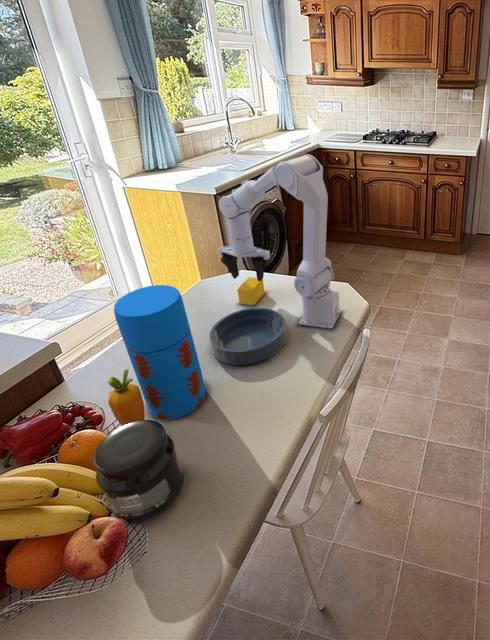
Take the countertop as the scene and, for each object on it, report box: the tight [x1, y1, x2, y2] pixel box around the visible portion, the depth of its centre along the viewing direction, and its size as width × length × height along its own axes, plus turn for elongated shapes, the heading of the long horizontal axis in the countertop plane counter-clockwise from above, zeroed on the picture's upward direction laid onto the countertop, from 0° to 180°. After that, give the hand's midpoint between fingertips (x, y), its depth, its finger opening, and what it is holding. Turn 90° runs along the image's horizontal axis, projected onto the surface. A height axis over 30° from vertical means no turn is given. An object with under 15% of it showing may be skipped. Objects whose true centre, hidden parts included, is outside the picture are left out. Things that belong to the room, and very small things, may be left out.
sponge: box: [236, 276, 266, 306], centre depth 119 cm, size 4×7×5 cm, turn 171°
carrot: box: [107, 368, 146, 426], centre depth 74 cm, size 5×5×15 cm
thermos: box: [113, 284, 206, 421], centre depth 79 cm, size 11×11×25 cm
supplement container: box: [92, 419, 184, 523], centre depth 65 cm, size 10×10×12 cm
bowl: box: [209, 307, 288, 366], centre depth 101 cm, size 18×18×4 cm
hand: (248, 278), depth 118 cm, fingers open, 7 cm apart
